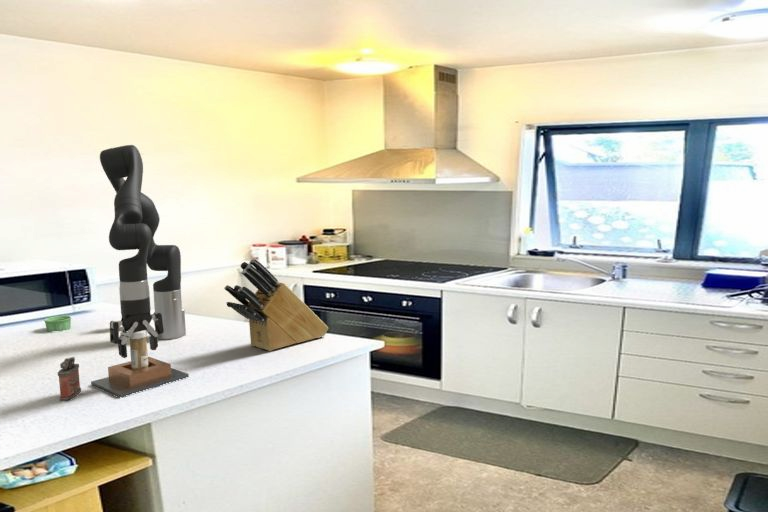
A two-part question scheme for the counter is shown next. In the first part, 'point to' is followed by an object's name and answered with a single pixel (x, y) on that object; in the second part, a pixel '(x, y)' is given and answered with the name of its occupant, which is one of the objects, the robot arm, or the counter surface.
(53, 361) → the counter surface
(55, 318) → the ramekin
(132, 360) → the spice jar
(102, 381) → the collar deck
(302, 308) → the knife block
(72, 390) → the lighter
